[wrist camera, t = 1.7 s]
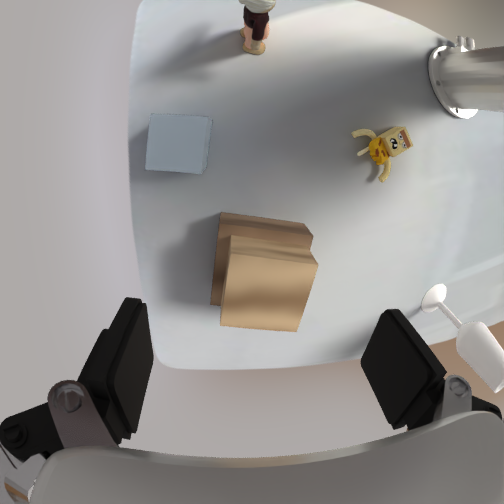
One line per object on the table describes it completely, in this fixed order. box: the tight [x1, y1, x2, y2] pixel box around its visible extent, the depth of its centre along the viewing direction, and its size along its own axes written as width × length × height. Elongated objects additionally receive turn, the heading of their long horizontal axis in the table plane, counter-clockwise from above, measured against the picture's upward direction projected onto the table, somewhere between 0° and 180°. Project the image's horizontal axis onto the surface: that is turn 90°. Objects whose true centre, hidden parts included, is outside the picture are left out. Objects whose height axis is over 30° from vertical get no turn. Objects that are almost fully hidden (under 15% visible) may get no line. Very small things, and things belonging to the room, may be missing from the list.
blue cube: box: [145, 114, 213, 174], centre depth 28 cm, size 6×6×6 cm
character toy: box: [351, 127, 413, 182], centre depth 30 cm, size 8×3×8 cm
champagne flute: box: [421, 284, 504, 393], centre depth 33 cm, size 7×7×24 cm
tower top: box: [220, 235, 318, 332], centre depth 31 cm, size 9×9×5 cm
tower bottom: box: [210, 212, 313, 306], centre depth 35 cm, size 11×11×5 cm
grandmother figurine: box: [239, 0, 276, 55], centre depth 19 cm, size 8×4×13 cm, turn 16°
